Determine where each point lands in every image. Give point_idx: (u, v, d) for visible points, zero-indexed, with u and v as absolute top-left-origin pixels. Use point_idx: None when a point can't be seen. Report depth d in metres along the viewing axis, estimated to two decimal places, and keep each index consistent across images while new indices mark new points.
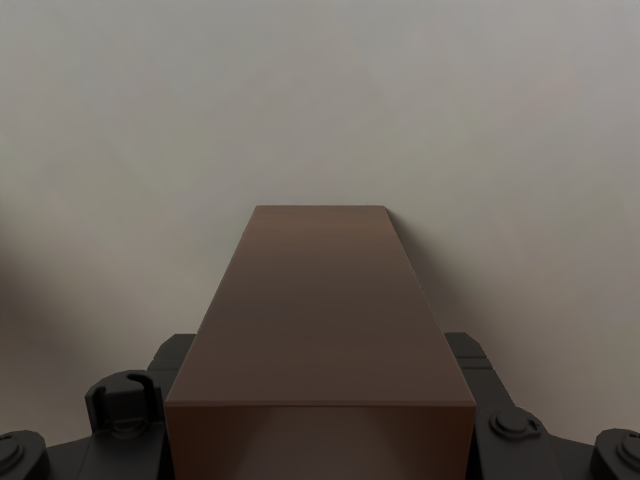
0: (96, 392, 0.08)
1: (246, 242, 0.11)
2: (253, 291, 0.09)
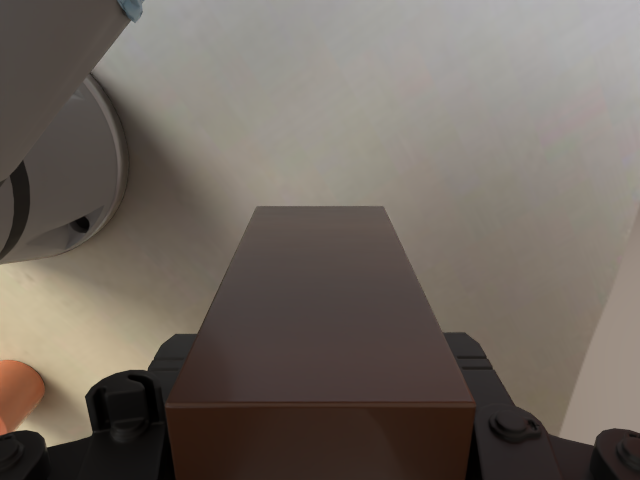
0: (97, 392, 0.08)
1: (246, 243, 0.11)
2: (252, 292, 0.09)
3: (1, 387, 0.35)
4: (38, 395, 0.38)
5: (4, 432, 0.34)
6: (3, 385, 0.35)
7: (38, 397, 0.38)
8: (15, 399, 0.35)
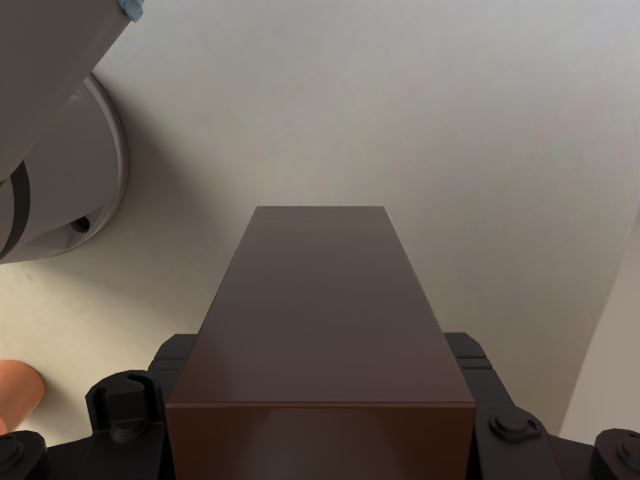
0: (97, 392, 0.08)
1: (246, 243, 0.11)
2: (253, 292, 0.09)
3: (1, 387, 0.35)
4: (38, 395, 0.38)
5: (4, 432, 0.34)
6: (3, 385, 0.35)
7: (38, 397, 0.38)
8: (15, 399, 0.35)
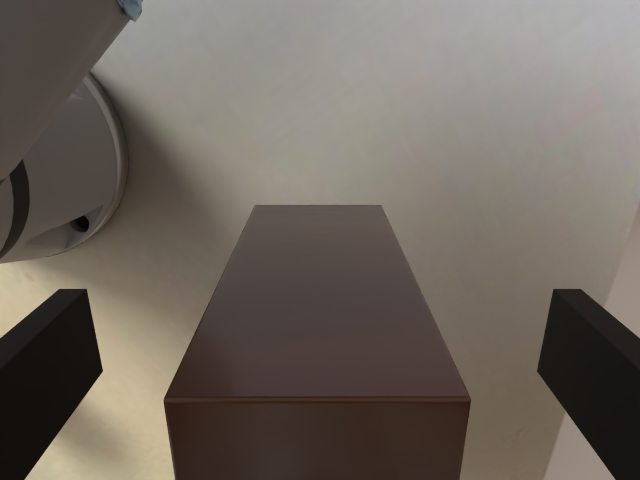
0: None
1: (244, 241, 0.11)
2: (251, 289, 0.09)
3: None
4: None
5: None
6: None
7: None
8: None
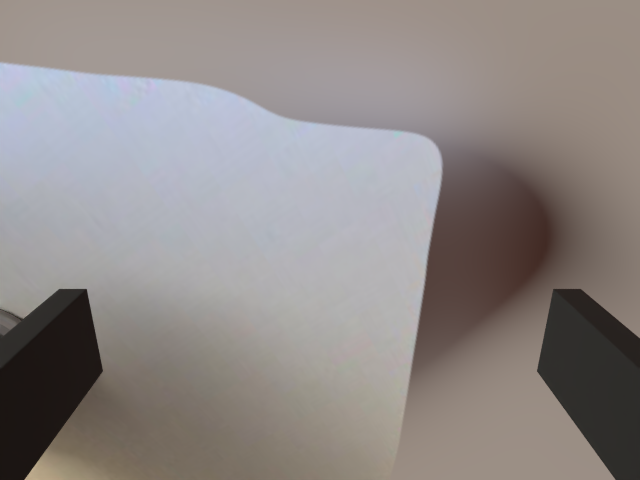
0: None
1: None
2: None
3: None
4: None
5: None
6: None
7: None
8: None
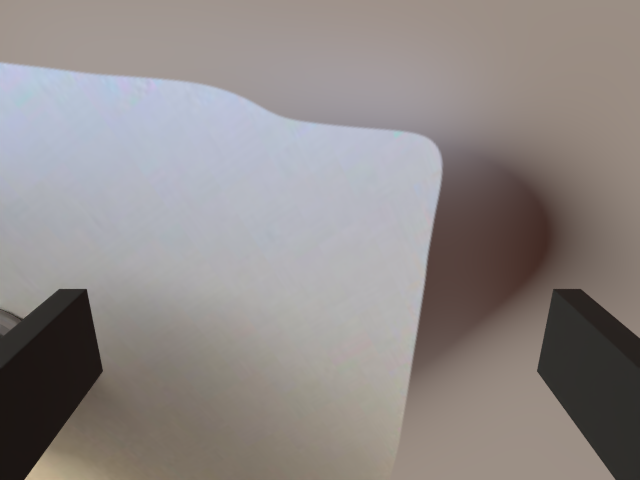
0: None
1: None
2: None
3: None
4: None
5: None
6: None
7: None
8: None
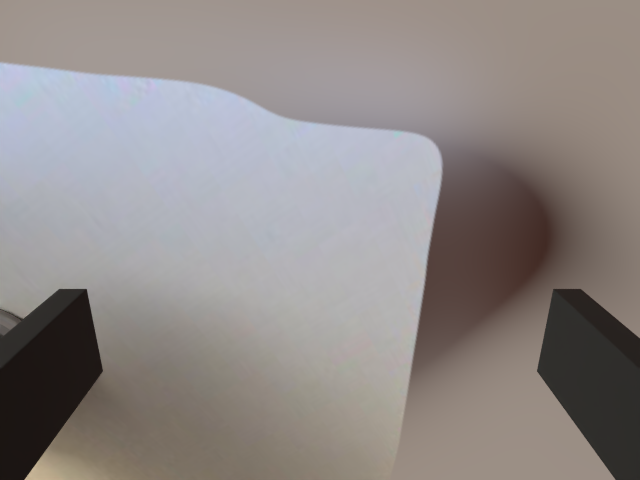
0: None
1: None
2: None
3: None
4: None
5: None
6: None
7: None
8: None
